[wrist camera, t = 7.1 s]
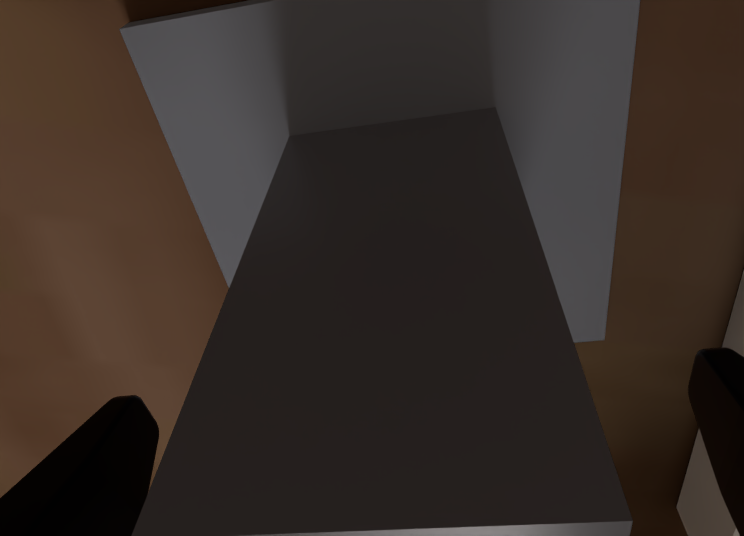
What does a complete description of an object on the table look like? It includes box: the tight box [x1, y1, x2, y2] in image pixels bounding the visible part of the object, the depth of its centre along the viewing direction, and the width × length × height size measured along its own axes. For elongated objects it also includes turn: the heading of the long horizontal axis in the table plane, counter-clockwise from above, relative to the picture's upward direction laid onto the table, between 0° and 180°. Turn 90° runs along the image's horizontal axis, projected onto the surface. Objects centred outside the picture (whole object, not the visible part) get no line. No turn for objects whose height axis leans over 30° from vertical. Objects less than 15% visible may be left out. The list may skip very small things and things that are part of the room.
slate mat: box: [119, 0, 640, 343], centre depth 14 cm, size 10×10×1 cm
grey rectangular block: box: [132, 107, 633, 536], centre depth 10 cm, size 4×4×9 cm
